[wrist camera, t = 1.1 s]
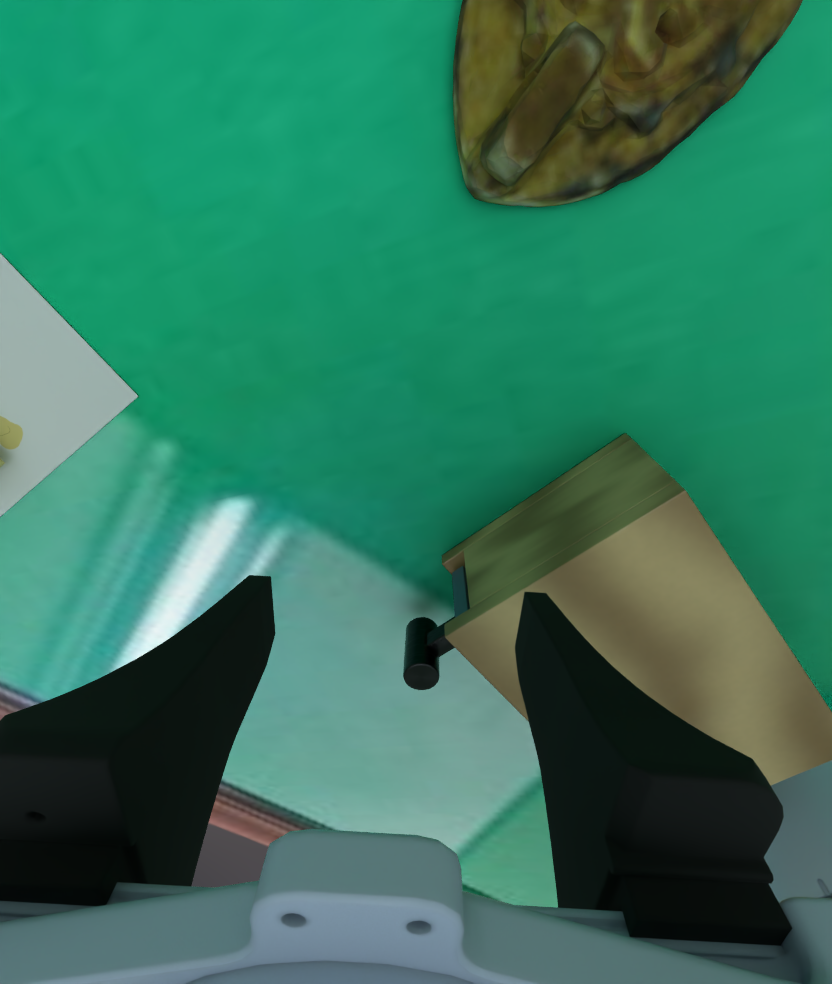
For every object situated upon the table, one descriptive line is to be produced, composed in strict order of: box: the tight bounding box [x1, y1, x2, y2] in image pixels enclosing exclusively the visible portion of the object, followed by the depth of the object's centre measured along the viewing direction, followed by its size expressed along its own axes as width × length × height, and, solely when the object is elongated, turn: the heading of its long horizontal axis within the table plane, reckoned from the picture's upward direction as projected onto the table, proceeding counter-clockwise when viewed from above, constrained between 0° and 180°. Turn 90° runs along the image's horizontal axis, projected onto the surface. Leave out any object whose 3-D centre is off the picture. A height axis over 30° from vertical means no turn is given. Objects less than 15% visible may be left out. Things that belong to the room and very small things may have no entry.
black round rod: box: [403, 566, 470, 690], centre depth 25 cm, size 4×8×4 cm, turn 39°
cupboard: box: [442, 433, 832, 786], centre depth 24 cm, size 10×16×6 cm, turn 39°
